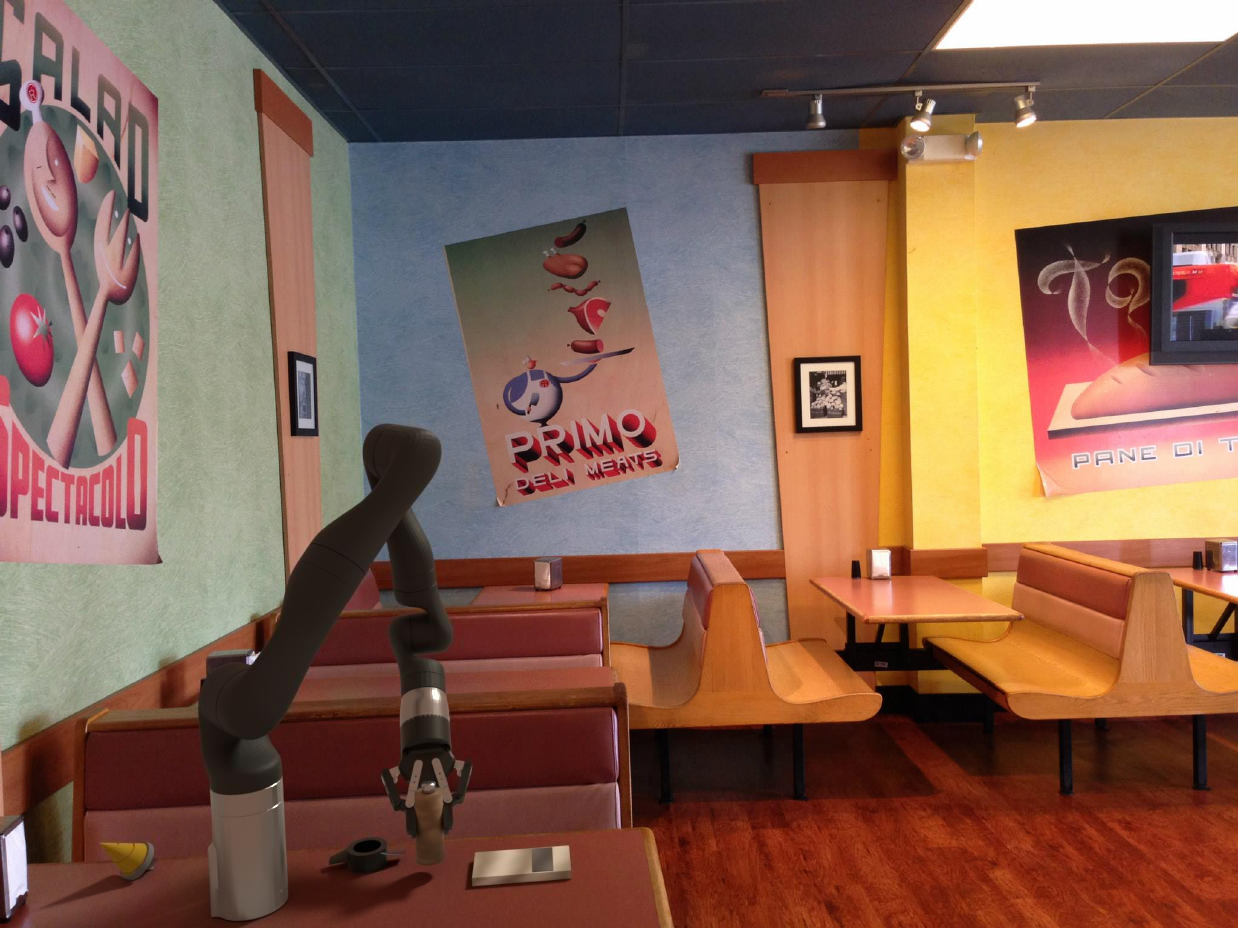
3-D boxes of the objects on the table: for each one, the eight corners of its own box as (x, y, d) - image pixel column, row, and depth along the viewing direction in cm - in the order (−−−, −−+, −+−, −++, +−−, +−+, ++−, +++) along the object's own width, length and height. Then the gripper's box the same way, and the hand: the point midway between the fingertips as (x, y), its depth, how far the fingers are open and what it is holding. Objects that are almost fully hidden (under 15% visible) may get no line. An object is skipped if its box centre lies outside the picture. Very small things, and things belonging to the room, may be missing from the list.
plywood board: (472, 885, 129) (472, 876, 129) (475, 859, 137) (475, 851, 137) (571, 878, 131) (571, 869, 131) (569, 853, 138) (568, 844, 138)
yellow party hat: (163, 879, 135) (109, 854, 129) (135, 892, 136) (80, 867, 130) (172, 845, 139) (119, 819, 133) (145, 857, 140) (91, 831, 134)
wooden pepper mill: (415, 866, 131) (413, 790, 131) (417, 853, 135) (415, 779, 135) (444, 863, 132) (441, 787, 131) (445, 851, 136) (442, 777, 135)
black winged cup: (378, 883, 132) (377, 863, 131) (323, 871, 136) (322, 852, 135) (411, 858, 139) (410, 840, 138) (358, 847, 143) (357, 829, 142)
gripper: (376, 717, 138) (378, 830, 127) (472, 708, 141) (481, 817, 130) (378, 739, 144) (380, 850, 132) (470, 730, 147) (479, 837, 136)
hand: (430, 833), depth 131 cm, fingers closed on wooden pepper mill, 4 cm apart
